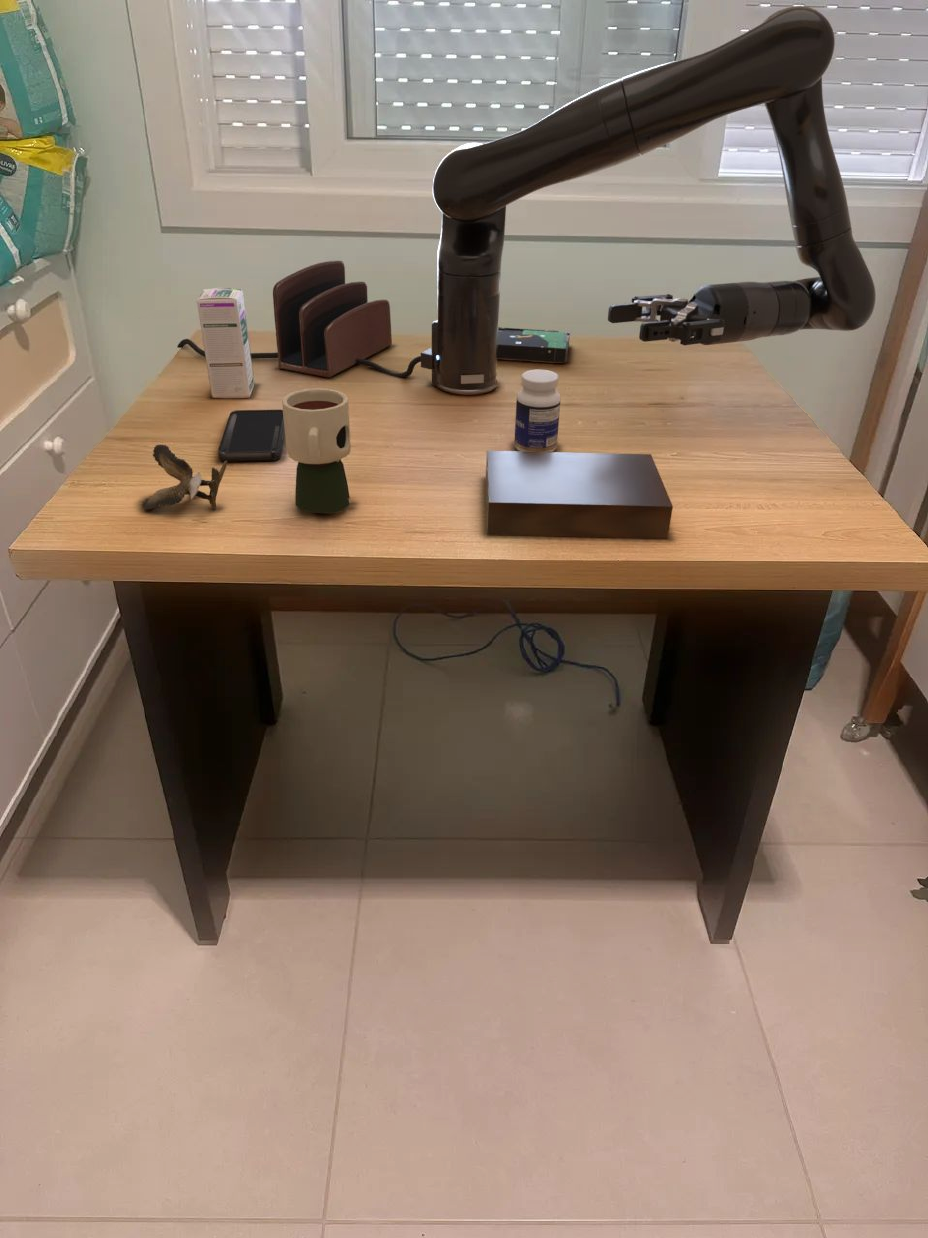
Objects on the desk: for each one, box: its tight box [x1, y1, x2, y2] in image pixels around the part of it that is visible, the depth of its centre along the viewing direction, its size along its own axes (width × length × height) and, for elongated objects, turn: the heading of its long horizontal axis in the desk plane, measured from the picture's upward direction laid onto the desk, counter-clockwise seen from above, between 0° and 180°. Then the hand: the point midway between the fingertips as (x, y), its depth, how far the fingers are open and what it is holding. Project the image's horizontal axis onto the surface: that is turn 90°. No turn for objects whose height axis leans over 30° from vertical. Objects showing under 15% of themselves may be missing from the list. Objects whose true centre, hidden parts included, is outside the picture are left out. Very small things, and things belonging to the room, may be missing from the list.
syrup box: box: [196, 287, 256, 399], centre depth 129 cm, size 6×6×14 cm
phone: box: [217, 409, 285, 463], centre depth 118 cm, size 8×1×15 cm
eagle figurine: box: [141, 444, 228, 510], centre depth 101 cm, size 8×7×9 cm
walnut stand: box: [485, 450, 674, 540], centre depth 103 cm, size 20×14×4 cm
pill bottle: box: [513, 368, 561, 452], centre depth 115 cm, size 6×6×10 cm
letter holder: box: [272, 260, 393, 379], centre depth 144 cm, size 10×20×14 cm, turn 154°
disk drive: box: [497, 326, 571, 364], centre depth 152 cm, size 10×3×15 cm
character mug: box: [281, 387, 352, 515], centre depth 99 cm, size 11×7×13 cm, turn 4°
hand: (624, 322), depth 113 cm, fingers open, 8 cm apart
